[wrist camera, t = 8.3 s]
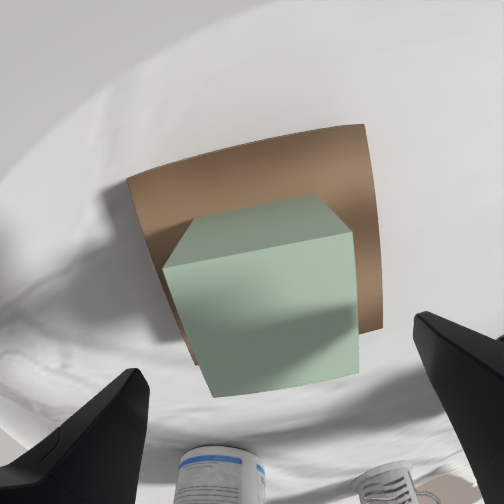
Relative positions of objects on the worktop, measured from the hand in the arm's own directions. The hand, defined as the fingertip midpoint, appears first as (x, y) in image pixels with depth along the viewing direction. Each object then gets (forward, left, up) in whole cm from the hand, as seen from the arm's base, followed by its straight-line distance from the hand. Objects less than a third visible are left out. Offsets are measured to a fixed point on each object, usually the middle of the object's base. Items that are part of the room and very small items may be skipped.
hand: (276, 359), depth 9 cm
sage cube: (0, 0, -8) cm, 8 cm away
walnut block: (0, 0, -12) cm, 12 cm away
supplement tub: (-25, +10, -11) cm, 29 cm away
